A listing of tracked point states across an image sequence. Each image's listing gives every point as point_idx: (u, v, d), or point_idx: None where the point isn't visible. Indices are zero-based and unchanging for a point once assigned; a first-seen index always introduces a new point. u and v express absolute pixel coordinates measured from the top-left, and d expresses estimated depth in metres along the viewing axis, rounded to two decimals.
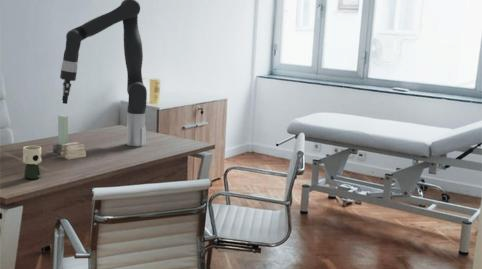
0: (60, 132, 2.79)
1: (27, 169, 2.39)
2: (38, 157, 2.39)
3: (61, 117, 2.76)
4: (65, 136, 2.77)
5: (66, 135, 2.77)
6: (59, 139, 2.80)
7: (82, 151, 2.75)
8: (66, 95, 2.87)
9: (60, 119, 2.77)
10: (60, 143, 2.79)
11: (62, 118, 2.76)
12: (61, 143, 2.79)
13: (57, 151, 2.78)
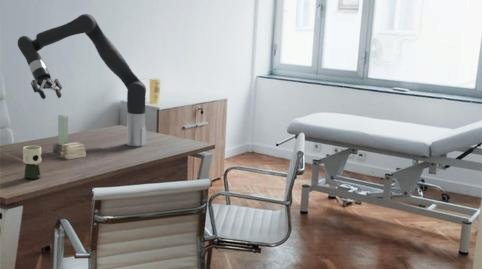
0: (60, 132, 2.79)
1: (27, 169, 2.39)
2: (38, 157, 2.39)
3: (61, 117, 2.76)
4: (65, 136, 2.77)
5: (66, 135, 2.77)
6: (59, 139, 2.80)
7: (82, 151, 2.75)
8: (37, 90, 2.81)
9: (60, 119, 2.77)
10: (60, 143, 2.79)
11: (62, 118, 2.76)
12: (61, 143, 2.79)
13: (57, 151, 2.78)
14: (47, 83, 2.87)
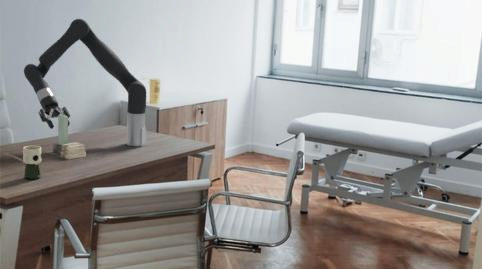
0: (60, 132, 2.79)
1: (27, 169, 2.39)
2: (38, 157, 2.39)
3: (61, 117, 2.76)
4: (65, 136, 2.77)
5: (66, 135, 2.77)
6: (59, 139, 2.80)
7: (82, 151, 2.75)
8: (44, 120, 2.76)
9: (60, 119, 2.77)
10: (60, 143, 2.79)
11: (62, 118, 2.76)
12: (61, 143, 2.79)
13: (57, 151, 2.78)
14: (55, 112, 2.81)
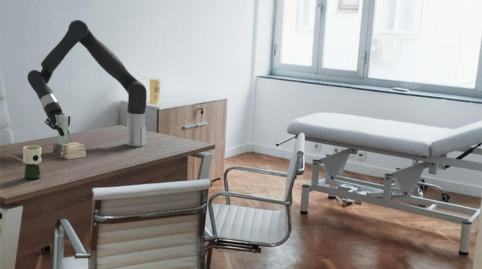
0: None
1: (27, 169, 2.39)
2: (38, 157, 2.39)
3: (61, 117, 2.76)
4: (65, 136, 2.77)
5: (65, 135, 2.77)
6: (59, 139, 2.79)
7: (82, 151, 2.75)
8: (55, 128, 2.76)
9: (60, 119, 2.77)
10: (60, 143, 2.79)
11: (62, 118, 2.75)
12: (61, 143, 2.79)
13: (57, 151, 2.78)
14: None
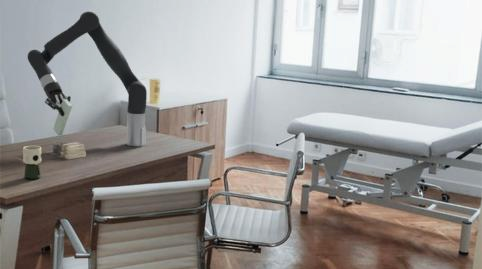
0: (60, 115, 2.77)
1: (27, 169, 2.39)
2: (38, 157, 2.39)
3: (65, 104, 2.73)
4: (64, 121, 2.76)
5: (65, 120, 2.76)
6: (57, 120, 2.79)
7: (82, 151, 2.75)
8: (55, 108, 2.74)
9: (64, 104, 2.73)
10: (57, 124, 2.79)
11: (66, 105, 2.72)
12: (58, 124, 2.79)
13: (57, 151, 2.78)
14: (59, 98, 2.78)
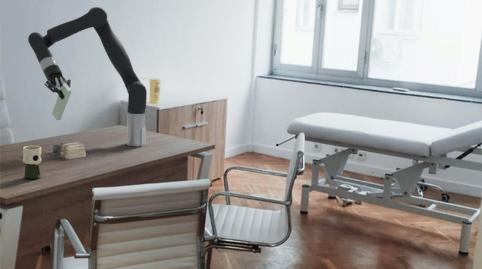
0: (59, 99, 2.76)
1: (27, 169, 2.39)
2: (38, 157, 2.39)
3: (65, 88, 2.71)
4: (62, 106, 2.75)
5: (64, 105, 2.75)
6: (56, 105, 2.78)
7: (82, 151, 2.75)
8: (55, 90, 2.72)
9: (63, 89, 2.72)
10: (56, 108, 2.78)
11: (65, 90, 2.71)
12: (57, 109, 2.78)
13: (57, 151, 2.78)
14: (59, 81, 2.76)
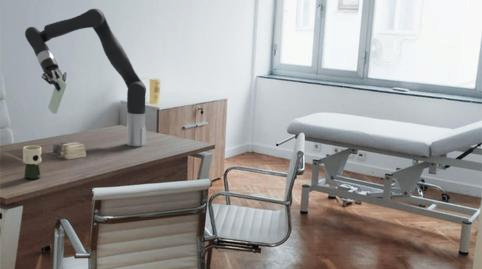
0: (54, 93, 2.87)
1: (27, 169, 2.39)
2: (38, 157, 2.39)
3: (60, 83, 2.82)
4: (58, 100, 2.86)
5: (59, 99, 2.86)
6: (52, 99, 2.89)
7: (82, 151, 2.75)
8: (52, 82, 2.83)
9: (58, 83, 2.83)
10: (52, 102, 2.89)
11: (60, 84, 2.82)
12: (53, 103, 2.89)
13: (57, 151, 2.78)
14: (56, 74, 2.86)
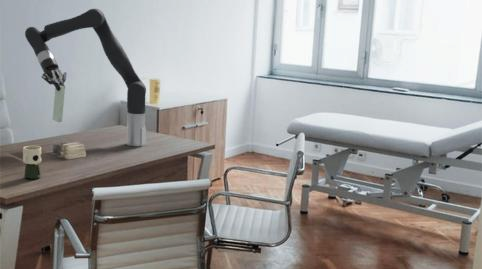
0: (56, 101, 2.87)
1: (27, 169, 2.39)
2: (38, 157, 2.39)
3: None
4: (60, 106, 2.85)
5: (61, 104, 2.86)
6: (54, 108, 2.88)
7: (82, 151, 2.75)
8: (52, 82, 2.83)
9: None
10: (55, 111, 2.88)
11: None
12: (56, 111, 2.88)
13: (57, 151, 2.78)
14: (56, 74, 2.86)
